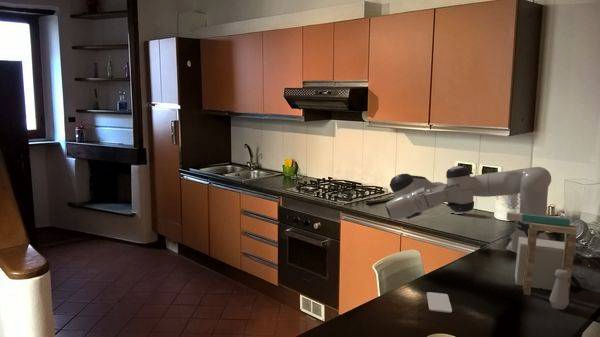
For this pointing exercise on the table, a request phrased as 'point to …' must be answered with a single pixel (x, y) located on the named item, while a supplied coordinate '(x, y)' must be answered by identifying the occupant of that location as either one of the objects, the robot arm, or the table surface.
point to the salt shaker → (560, 290)
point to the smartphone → (439, 302)
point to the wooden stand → (531, 247)
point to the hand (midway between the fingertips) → (459, 186)
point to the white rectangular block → (540, 262)
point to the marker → (538, 219)
